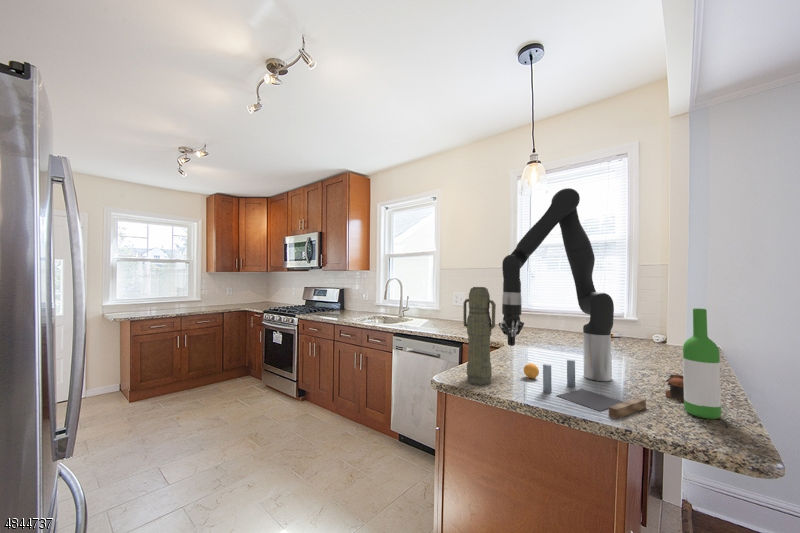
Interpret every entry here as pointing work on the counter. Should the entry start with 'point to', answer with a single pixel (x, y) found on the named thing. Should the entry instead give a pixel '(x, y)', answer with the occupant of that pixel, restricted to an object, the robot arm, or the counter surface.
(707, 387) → the wine bottle
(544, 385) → the post
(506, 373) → the counter surface
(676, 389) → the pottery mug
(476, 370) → the thermos
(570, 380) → the post
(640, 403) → the wall
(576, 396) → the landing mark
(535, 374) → the ball
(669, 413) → the counter surface
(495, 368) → the counter surface
